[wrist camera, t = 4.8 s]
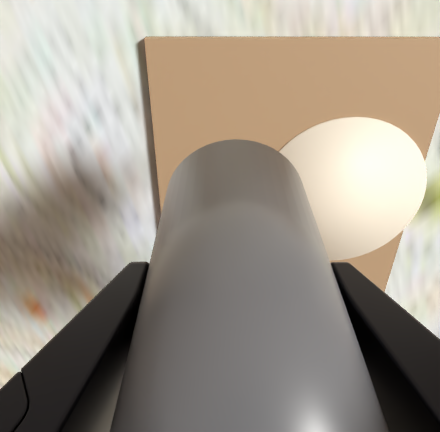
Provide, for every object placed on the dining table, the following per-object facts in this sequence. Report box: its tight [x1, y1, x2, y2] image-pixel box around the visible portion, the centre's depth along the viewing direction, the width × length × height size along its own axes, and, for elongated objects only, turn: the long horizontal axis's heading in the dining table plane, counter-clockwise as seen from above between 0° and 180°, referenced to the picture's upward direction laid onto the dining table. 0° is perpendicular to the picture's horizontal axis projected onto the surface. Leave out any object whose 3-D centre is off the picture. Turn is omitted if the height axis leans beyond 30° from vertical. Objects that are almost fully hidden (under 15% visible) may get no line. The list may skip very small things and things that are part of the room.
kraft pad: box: [144, 37, 440, 292], centre depth 22 cm, size 16×14×1 cm
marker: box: [110, 139, 389, 432], centre depth 7 cm, size 4×4×10 cm
